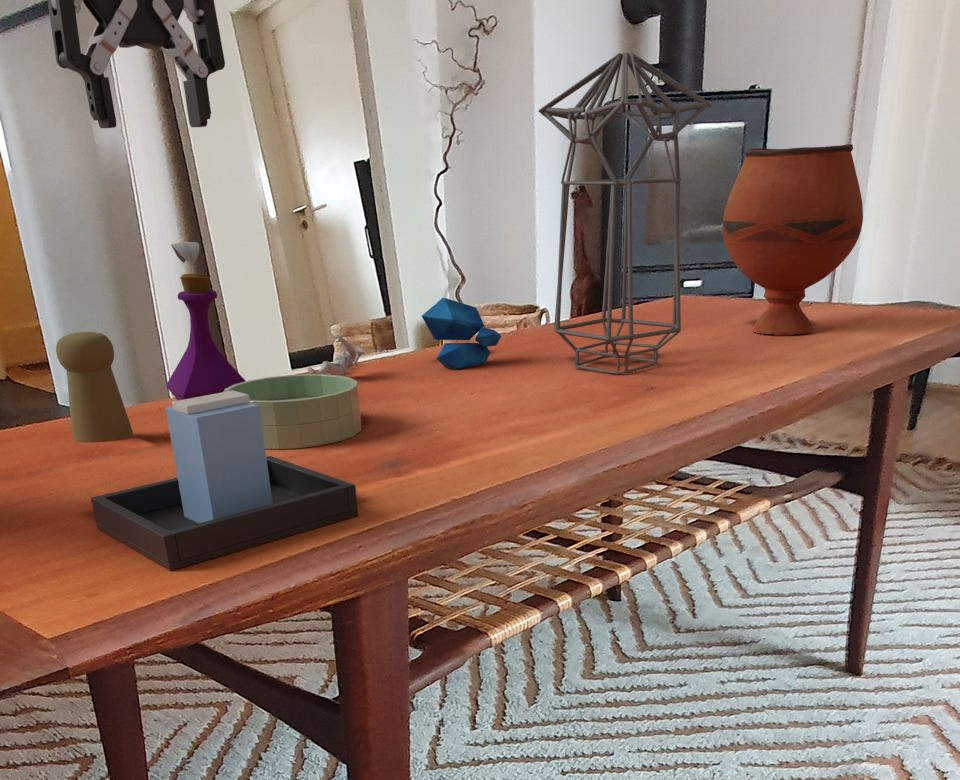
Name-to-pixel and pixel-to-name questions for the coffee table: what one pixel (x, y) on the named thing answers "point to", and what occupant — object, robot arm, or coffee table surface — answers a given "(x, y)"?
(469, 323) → the crystal
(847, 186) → the goblet
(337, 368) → the seated figurine
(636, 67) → the geometric lantern
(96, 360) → the cork
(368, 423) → the coffee table surface
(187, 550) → the tray
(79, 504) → the coffee table surface
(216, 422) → the carton
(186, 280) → the perfume bottle
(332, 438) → the bowl
